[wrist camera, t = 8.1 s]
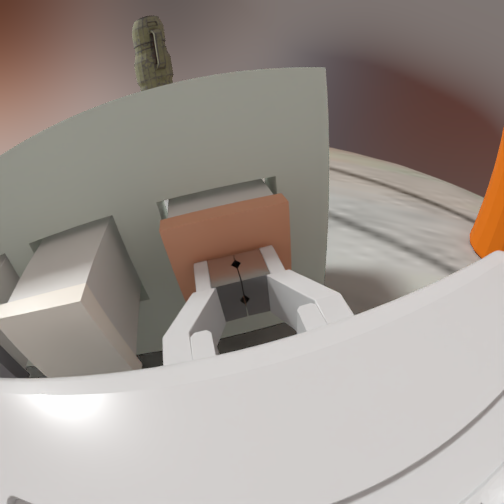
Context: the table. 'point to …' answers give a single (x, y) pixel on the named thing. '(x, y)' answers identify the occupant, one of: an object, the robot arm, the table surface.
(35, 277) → the button cream
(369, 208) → the table surface
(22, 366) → the button charcoal
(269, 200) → the button terracotta
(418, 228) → the table surface
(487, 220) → the spray bottle
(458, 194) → the table surface
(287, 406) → the robot arm
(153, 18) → the green thermos flask
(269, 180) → the panel
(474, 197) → the table surface
